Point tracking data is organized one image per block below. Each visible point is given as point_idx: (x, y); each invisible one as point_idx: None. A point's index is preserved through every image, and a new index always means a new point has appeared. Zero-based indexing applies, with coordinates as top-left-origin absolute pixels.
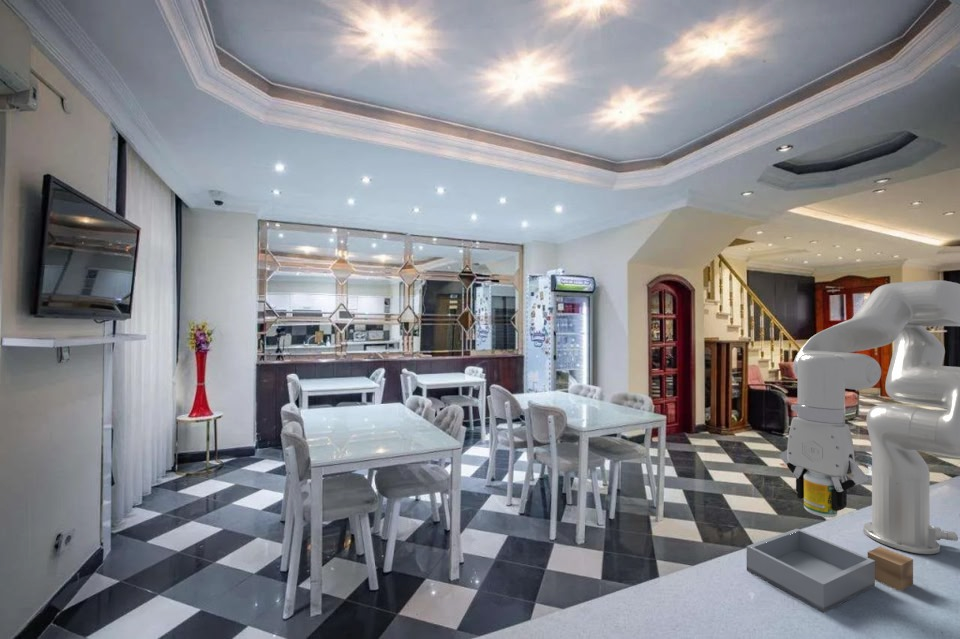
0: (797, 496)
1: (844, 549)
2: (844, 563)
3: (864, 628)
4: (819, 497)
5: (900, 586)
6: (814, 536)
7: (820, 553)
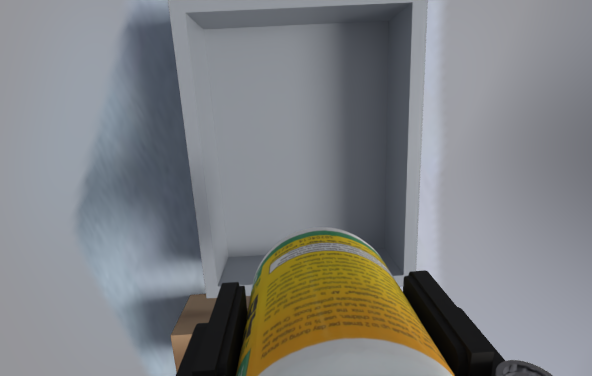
0: (426, 271)
1: None
2: None
3: (123, 55)
4: (290, 281)
5: (187, 301)
6: None
7: None
